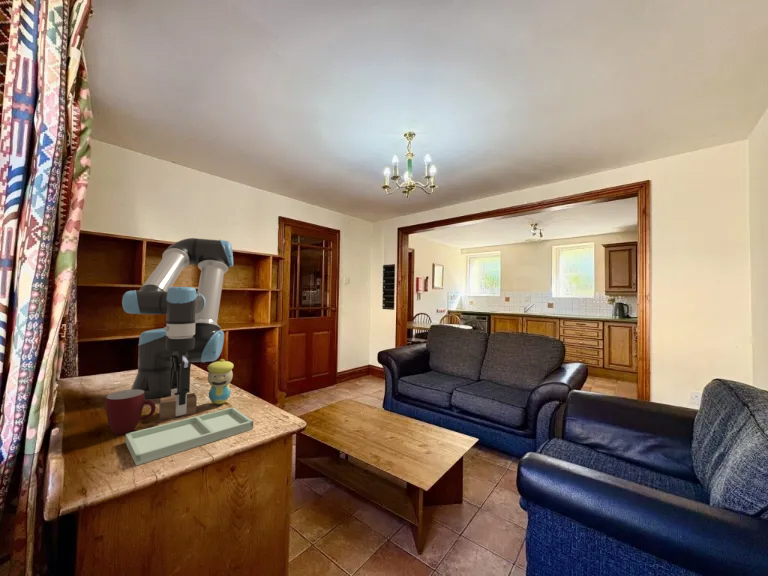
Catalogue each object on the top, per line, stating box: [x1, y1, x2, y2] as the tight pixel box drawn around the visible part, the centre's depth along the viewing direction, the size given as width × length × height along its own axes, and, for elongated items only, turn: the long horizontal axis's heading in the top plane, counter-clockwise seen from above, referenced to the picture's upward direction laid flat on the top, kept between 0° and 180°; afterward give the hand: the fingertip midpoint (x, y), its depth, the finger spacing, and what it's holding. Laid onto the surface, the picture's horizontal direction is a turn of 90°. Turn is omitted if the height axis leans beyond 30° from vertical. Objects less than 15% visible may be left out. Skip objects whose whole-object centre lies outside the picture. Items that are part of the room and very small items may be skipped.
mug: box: [104, 389, 156, 436], centre depth 84 cm, size 10×8×10 cm
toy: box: [206, 358, 234, 405], centre depth 104 cm, size 8×9×15 cm
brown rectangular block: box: [158, 392, 198, 421], centre depth 95 cm, size 4×9×5 cm, turn 130°
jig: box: [125, 406, 254, 467], centre depth 82 cm, size 14×26×2 cm, turn 137°
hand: (178, 411), depth 95 cm, fingers closed on brown rectangular block, 5 cm apart
